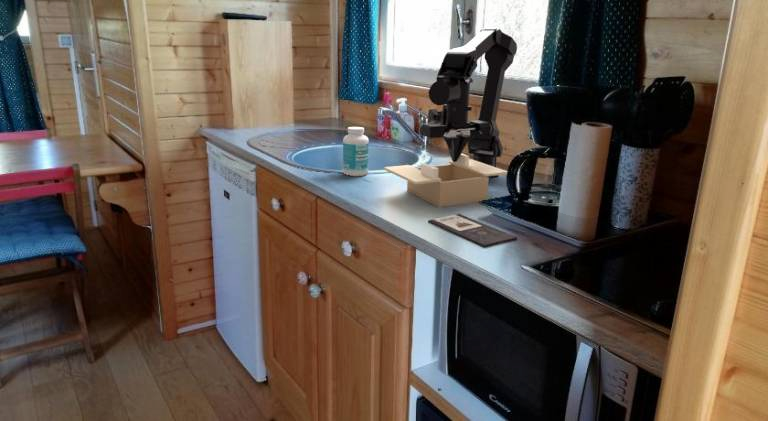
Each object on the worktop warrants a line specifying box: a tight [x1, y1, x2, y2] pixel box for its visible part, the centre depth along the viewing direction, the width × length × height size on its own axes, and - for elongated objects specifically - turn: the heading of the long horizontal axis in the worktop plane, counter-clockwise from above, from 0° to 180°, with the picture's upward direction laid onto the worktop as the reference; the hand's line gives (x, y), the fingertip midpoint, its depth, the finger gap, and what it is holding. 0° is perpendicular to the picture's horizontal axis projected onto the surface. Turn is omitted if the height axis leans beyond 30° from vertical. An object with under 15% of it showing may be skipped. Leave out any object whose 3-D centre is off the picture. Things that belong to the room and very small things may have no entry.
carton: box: [406, 163, 490, 208], centre depth 147 cm, size 14×16×6 cm
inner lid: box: [448, 153, 508, 177], centre depth 150 cm, size 7×16×3 cm, turn 27°
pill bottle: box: [342, 126, 370, 177], centre depth 167 cm, size 8×7×14 cm
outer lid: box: [383, 162, 441, 184], centre depth 141 cm, size 7×16×3 cm, turn 27°
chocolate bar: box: [427, 213, 518, 249], centre depth 123 cm, size 9×1×18 cm
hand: (454, 161), depth 152 cm, fingers closed
